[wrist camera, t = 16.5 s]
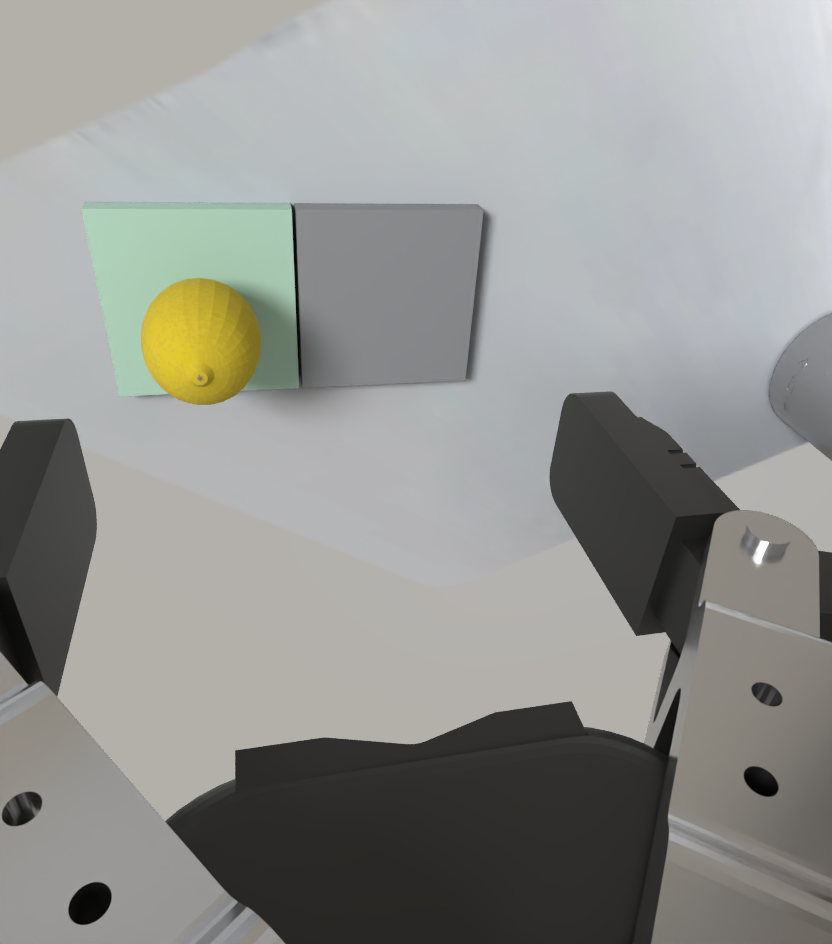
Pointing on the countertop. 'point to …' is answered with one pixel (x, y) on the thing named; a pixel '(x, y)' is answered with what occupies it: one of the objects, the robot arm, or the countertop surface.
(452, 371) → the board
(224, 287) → the lemon
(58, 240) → the countertop surface
